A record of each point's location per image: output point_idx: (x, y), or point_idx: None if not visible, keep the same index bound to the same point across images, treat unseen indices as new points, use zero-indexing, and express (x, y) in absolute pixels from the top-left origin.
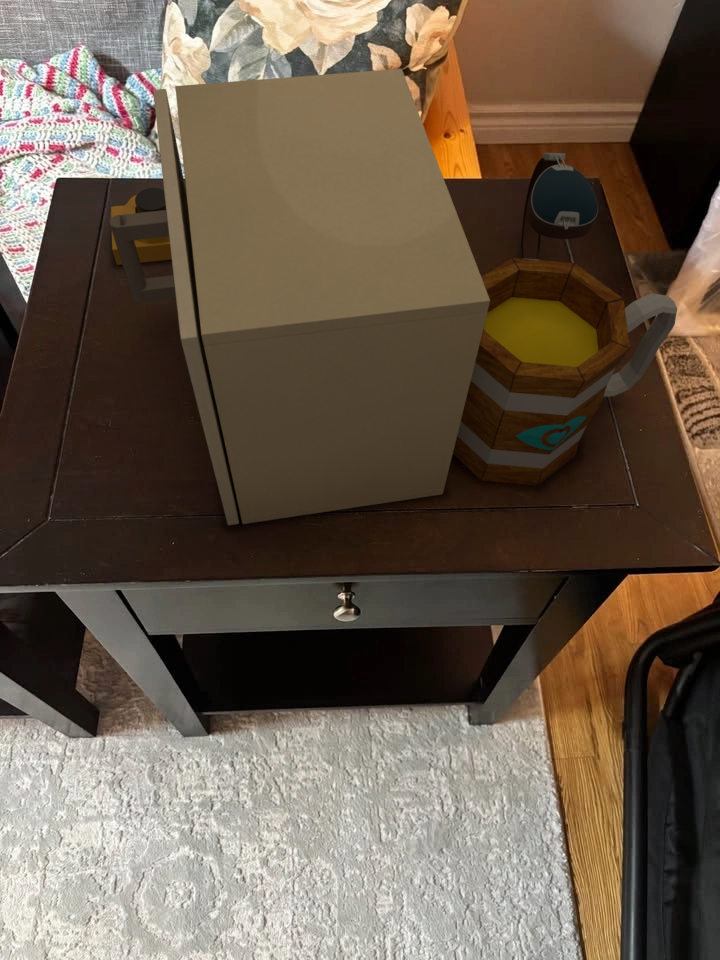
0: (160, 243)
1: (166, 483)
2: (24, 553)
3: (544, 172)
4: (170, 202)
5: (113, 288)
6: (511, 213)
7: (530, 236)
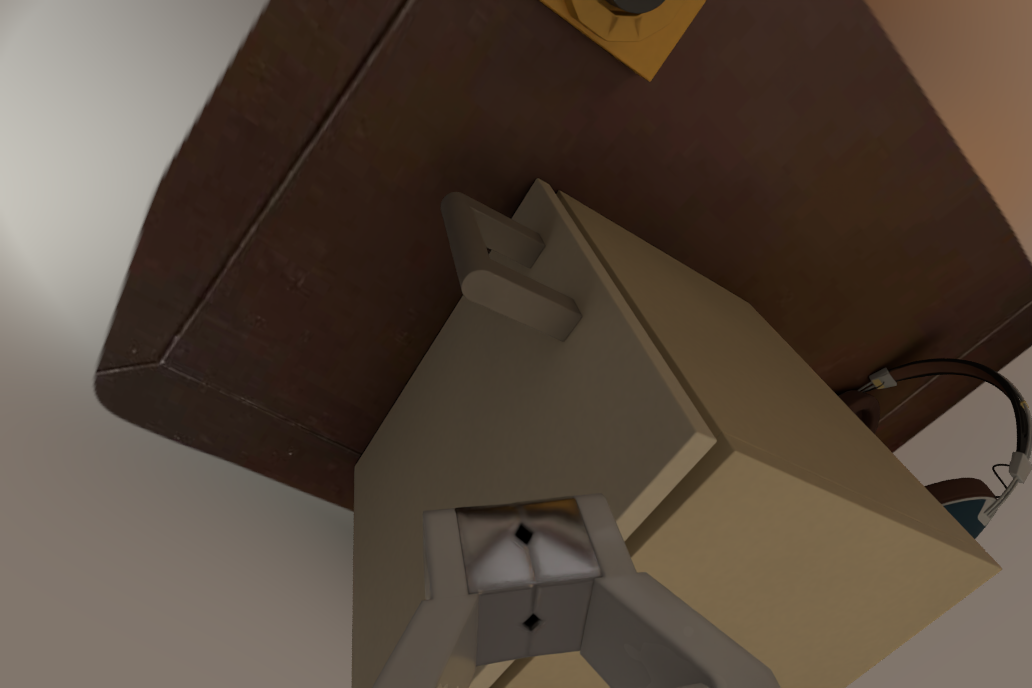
0: (583, 27)
1: (322, 393)
2: (114, 386)
3: (972, 501)
4: (490, 669)
5: (452, 23)
6: (973, 293)
7: (926, 369)
